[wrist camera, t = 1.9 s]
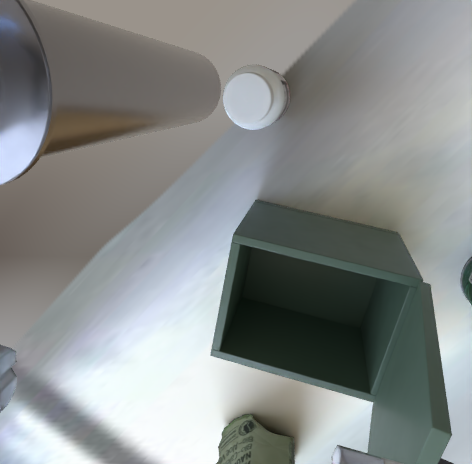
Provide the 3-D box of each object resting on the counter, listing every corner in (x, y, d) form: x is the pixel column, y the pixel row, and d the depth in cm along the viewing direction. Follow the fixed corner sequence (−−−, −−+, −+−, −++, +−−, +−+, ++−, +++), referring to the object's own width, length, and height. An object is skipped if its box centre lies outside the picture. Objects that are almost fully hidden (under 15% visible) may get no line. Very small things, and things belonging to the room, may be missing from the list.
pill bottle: (227, 99, 42) (201, 100, 33) (262, 56, 40) (244, 46, 31) (265, 135, 43) (249, 146, 34) (302, 95, 41) (295, 95, 32)
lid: (350, 605, 22) (447, 659, 20) (432, 426, 17) (562, 479, 16) (372, 405, 36) (429, 428, 35) (419, 280, 32) (487, 301, 30)
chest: (235, 297, 50) (210, 355, 39) (255, 199, 45) (233, 233, 34) (364, 332, 47) (376, 403, 37) (399, 232, 43) (423, 279, 32)
